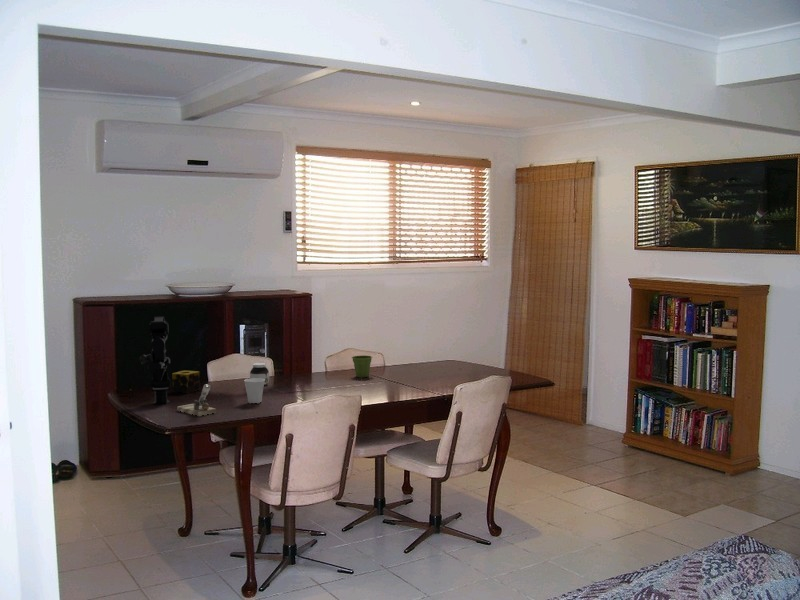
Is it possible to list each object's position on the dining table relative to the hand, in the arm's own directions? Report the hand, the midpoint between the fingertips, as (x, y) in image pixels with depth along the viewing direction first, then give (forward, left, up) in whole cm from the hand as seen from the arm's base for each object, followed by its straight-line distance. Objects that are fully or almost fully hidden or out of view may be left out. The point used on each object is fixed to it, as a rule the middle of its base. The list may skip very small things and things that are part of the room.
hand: (159, 381), depth 372 cm
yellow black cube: (-43, +3, -13) cm, 45 cm away
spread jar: (-58, +38, -13) cm, 71 cm away
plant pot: (-79, +94, -13) cm, 124 cm away
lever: (+9, +20, -10) cm, 24 cm away
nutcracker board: (+7, +18, -13) cm, 23 cm away
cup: (-12, +42, -13) cm, 46 cm away
